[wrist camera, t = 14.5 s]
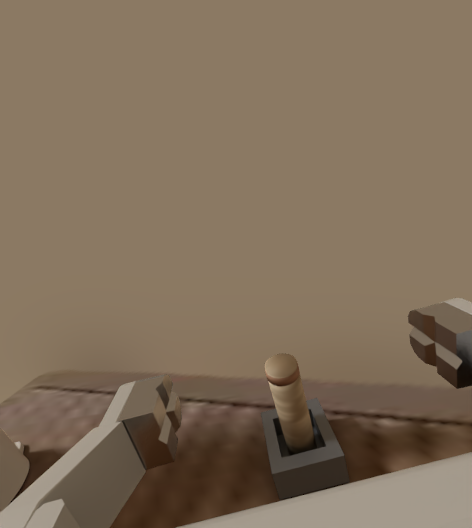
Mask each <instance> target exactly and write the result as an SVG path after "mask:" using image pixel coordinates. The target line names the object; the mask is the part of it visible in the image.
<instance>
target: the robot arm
mask: <svg viewBox="0 0 472 528" xmlns="http://www.w3.org/2000/svg"><path fill="white" fill-rule="evenodd" d="M408 321H409V324H410V325H412V326H413V327H414V328H413V329H412V331H411V333H410V343H411V346H412V348H413V350H414V352H415V353H416V354H417V356H418V357H419V358H420V359H421V360H422V361H424V362H425V363H426V364H429V365H433V366H436V368H437V373H438V374H439V375H441V376H442V377H443V378H444V379H446V380H447V381H448V382H449V383H450V384H452V385H453V386H454V387H455V388H457V389H459V388H464V387H468V386H472V303H471V302H469V301H467V300H464V299H461V298H454V299H450V300H447V301H444V302H440V303H438V304H434V305H431V306H427V307H423V308H420V309H416V310H412V311H410V312H409V315H408ZM172 386H173V382H172V380H171V378H170V376H169V375H168V374H164V375H160V376H156V377H151V378H147V379H143V380H139V381H135V382H131V383H127V384H123V385H122V386H120V388H119V389H118V391H117V393H116V395H115V397H114V399H113V401H112V403H111V405H110V406H109V408H108V410H107V412H106V414H105V416H104V418H103V420H102V422H101V424H100V425H99V427H97V428H94V429H92V430H91V431H90V432H89V433H88V434H87V435H86V436H85V437H84V438H82V439H81V440H80V441H79V442H78V443H77V444H76V445H75V446H74V447H72V448H71V449H70V450H69V451H68V452H67V453H66V454H65V455H64V456H62V457H61V458H60V459H59V460H58V461H57V462H56V463H55V464H54V465H52V466H51V467H50V468H49V469H48V470H47V471H46V472H45V473H44V474H42V475H41V476H40V477H39V478H38V479H37V480H36V481H35V482H34V483H32V484H31V485H30V486H29V487H28V488H27V489H26V490H25V491H24V492H23V493H21V494H20V495H19V496H18V497H17V498H16V499H15V500H14V501H13V502H11V501H12V499H13V498H14V497H15V495H16V494H17V493H18V491H19V490H20V488H21V486H22V485H23V483H24V481H25V479H26V477H27V474H28V471H29V460H28V459H27V458H26V457H25V456H24V455H23V451H24V445H23V444H22V443H21V442H16V443H14V442H13V441H12V440H11V439H10V438H9V437H8V435H7V434H6V433H5V432H4V431H3V430H2V429H1V428H0V528H110V526H111V525H112V523H113V522H114V520H115V519H116V517H117V516H118V514H119V512H120V511H121V509H122V508H123V506H124V505H125V503H126V502H127V500H128V499H129V497H130V495H131V494H132V492H133V491H134V489H135V488H136V486H137V485H138V483H139V482H140V480H141V478H142V477H143V475H144V474H145V472H146V471H145V470H147V469H151V468H154V467H157V466H161V465H164V464H168V463H171V462H174V460H175V454H176V449H177V443H178V438H177V436H176V431H177V430H178V429H179V428H180V425H181V419H182V415H181V405H180V400H179V398H178V395H177V394H175V393H174V392H172ZM10 502H11V503H10ZM9 503H10V504H9ZM176 528H472V452H471V453H467V454H463V455H459V456H455V457H451V458H447V459H443V460H439V461H435V462H431V463H427V464H423V465H420V466H416V467H412V468H408V469H404V470H400V471H396V472H392V473H388V474H384V475H380V476H376V477H373V478H369V479H365V480H361V481H357V482H353V483H349V484H345V485H341V486H337V487H333V488H329V489H326V490H322V491H318V492H314V493H310V494H306V495H302V496H298V497H294V498H290V499H286V500H282V501H278V502H274V503H271V504H267V505H263V506H259V507H255V508H251V509H247V510H243V511H239V512H235V513H231V514H227V515H223V516H219V517H215V518H212V519H208V520H204V521H200V522H196V523H192V524H188V525H184V526H180V527H176Z"/></svg>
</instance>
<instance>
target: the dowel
mask: <svg viewBox="0 0 472 528" xmlns="http://www.w3.org/2000/svg"><path fill="white" fill-rule="evenodd" d="M265 372H266V376H267V379H268V381H269V385H270V388H271V392H272V395H273V399H274V403H275V406H276V410H277V413H278V417H279V420H280V424H281V427H282V431H283V434H284V438H285V441H286V445H287V448H288V452H289V455H290V456H291V455H295V454H299V453H303V452H306V451H310V450H314V449H317V444H316V440H315V436H314V432H313V428H312V424H311V419H310V415H309V411H308V407H307V403H306V399H305V394H304V390H303V386H302V382H301V378H300V373H299V367H298V364H297V361H296V359H295V358H294V357H293V356H291V355H289V354H277V355H274V356H272V357H270V358H269V359H268V360H267V361H266V363H265Z"/></svg>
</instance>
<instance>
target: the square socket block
mask: <svg viewBox="0 0 472 528" xmlns="http://www.w3.org/2000/svg"><path fill="white" fill-rule="evenodd" d="M306 403H307V407H308V411H309V415H310V419H311V424H312V428H313V432H314V436H315V440H316V444H317V449H314V450H310V451H306V452H303V453H299V454H295V455H291V456H290V455H289V452H288V448H287V445H286V441H285V438H284V434H283V431H282V427H281V424H280V420H279V417H278V413H277V410H276V409H273V410H269V411H266V412H262V413H261V417H262V423H263V428H264V433H265V439H266V444H267V450H268V455H269V461H270V466H271V472H272V476H273V479H274V483H275V486H276V489H277V492H278V496H279V499H280V500H281V499H285V498H289V497H293V496H297V495H301V494H305V493H308V492H312V491H316V490H320V489H324V488H328V487H332V486H336V485H340V484H343V483H347V482H350V481H349V476H348V471H347V466H346V461H345V455H344V453H343V451H342V449H341V447H340V445H339V443H338V441H337V439H336V437H335V434H334V432H333V430H332V428H331V426H330V424H329V422H328V420H327V418H326V416H325V413H324V411H323V409H322V407H321V405H320V403H319V401H318V399H317V398H315V399H311V400H307V401H306Z"/></svg>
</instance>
